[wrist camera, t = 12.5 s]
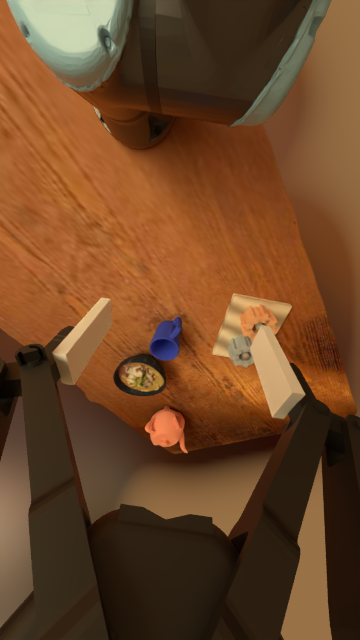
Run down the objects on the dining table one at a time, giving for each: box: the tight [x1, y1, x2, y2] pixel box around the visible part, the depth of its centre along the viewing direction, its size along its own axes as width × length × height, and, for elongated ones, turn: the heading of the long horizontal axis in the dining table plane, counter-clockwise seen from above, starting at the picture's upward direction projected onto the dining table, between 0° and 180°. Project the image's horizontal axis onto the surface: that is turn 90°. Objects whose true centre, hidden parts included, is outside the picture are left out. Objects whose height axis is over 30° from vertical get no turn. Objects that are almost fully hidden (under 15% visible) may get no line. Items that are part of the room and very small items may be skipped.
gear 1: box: [228, 334, 254, 367], centre depth 58 cm, size 9×9×5 cm
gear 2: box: [239, 304, 278, 341], centre depth 52 cm, size 9×9×5 cm
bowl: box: [113, 354, 166, 396], centre depth 66 cm, size 17×17×10 cm
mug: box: [150, 317, 182, 360], centre depth 55 cm, size 8×12×10 cm
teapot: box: [145, 406, 188, 453], centre depth 82 cm, size 16×17×14 cm
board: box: [212, 293, 292, 360], centre depth 55 cm, size 22×16×7 cm
